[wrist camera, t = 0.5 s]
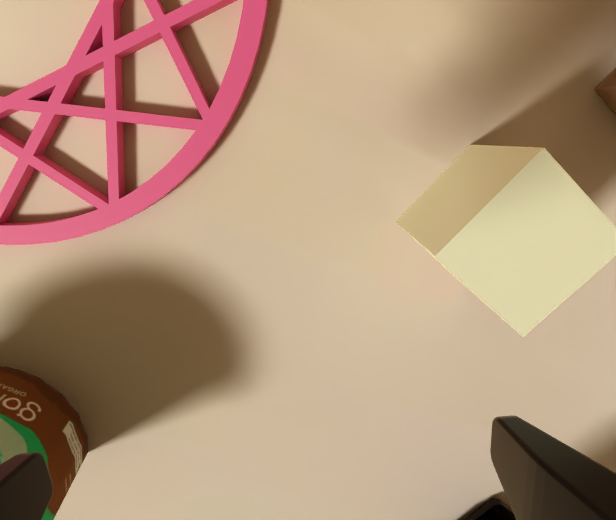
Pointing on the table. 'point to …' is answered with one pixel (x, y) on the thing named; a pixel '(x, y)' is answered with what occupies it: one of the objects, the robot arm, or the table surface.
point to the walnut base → (608, 90)
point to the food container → (41, 429)
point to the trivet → (121, 115)
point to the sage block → (512, 230)
